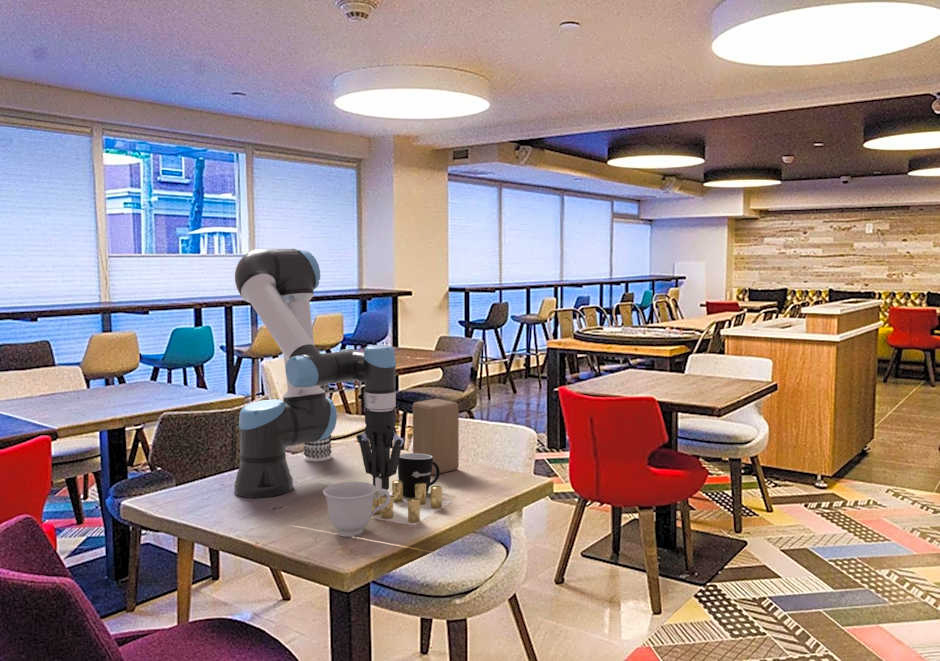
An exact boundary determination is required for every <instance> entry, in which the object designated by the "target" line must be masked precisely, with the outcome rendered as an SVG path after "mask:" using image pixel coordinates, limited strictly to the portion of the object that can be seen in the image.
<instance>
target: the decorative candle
mask: <svg viewBox="0 0 940 661" xmlns="http://www.w3.org/2000/svg"><path fill="white" fill-rule="evenodd" d="M329 384H330V383H329ZM329 384H323V385H319V386H320V388H322V389H323V390H324V391H325V393H326V397H327V398H329V399H331V400H332V401H333V399H332V398H331V394H330V389H329V387H330V385H329ZM331 438H332V434H331V435H330V436H329V437H327V438H325V439H322V440H319V441H317V442H309V443H303V444H304V446H303V448H302V449H303V452H302V454H303V455H304V456H303V459H304V460H305V461H308V462H323V461H327V460H330V459H331V458H332V453H333V452H332V450H331V449H332V445H331V442H332V439H331Z"/></svg>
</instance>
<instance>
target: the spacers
mask: <svg viewBox="0 0 940 661" xmlns="http://www.w3.org/2000/svg"><path fill="white" fill-rule="evenodd" d="M391 484H392V485H391V492H392V495H390V502H389V504H388V505H387V506H386V507H385V508H383V509H381V510H378V511H376V512H375V513H374V514H373V515H380V514H381V518H383V519H391V518H393V502H395V503H400V502H403V501H404V496H403V481H402V480H399V479H396V480H395V479H394V480H393V481H392V482H391ZM377 492H378V491H376V492H375V493H374V494H376V496H377ZM426 498H427V495H426V483H425V482H417V483H415V498H411V499H408V522H410V523H417V522H419V523H421V522H420V505H424V504H426ZM430 498H431V508H433V509H440V508H441V509H442V500H443V487H442V486H441V485H431V486H430ZM385 501H386V495H383V496H381V494H380V495H379V498H378V499H375V498H373V505H372V511H373V510H374V509H375V508H376V507H378V506H380V505H382V504H383V503H384V502H385ZM441 509H440V510H441ZM417 524H418V523H417Z"/></svg>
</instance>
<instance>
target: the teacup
mask: <svg viewBox="0 0 940 661" xmlns="http://www.w3.org/2000/svg"><path fill="white" fill-rule="evenodd" d="M376 491H377V488H376V487H375V486H374V485H373V483H369V482H366V481H365V482H364V481H342V482H338V483H334V484H333V483H332V484H330V485H328V486H326V487H325V488H324V489H323V490H322V494H323V495H324V496H325V499H326V504H327V511H328V517H329V518H328V519H329V521H330V523H331V525H332V527H333V528H335V529H337V535H339V536H341V537H345V538H353V537H355V536H357V535H360V534H362V533H364V528H365V527H366V526H368V525H369V523H370V521H371V519H372V518H371V517H372V515H373V514H374V513H375V512H376V511H378V510H381V509H383V508H385V507H386V506H387V505H388V504H389V502H390V494H389V492H390V491H389V490H386V489H380V490H378V492H377V496H376V494H374V493H375V492H376ZM380 494H385V495H386V501H385V502H384V503H383V504H382V505H380V506H378V507H376V508H375V509H374V510H373V511H372V505H373V498H375V499H378V498H379V495H380Z"/></svg>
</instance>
